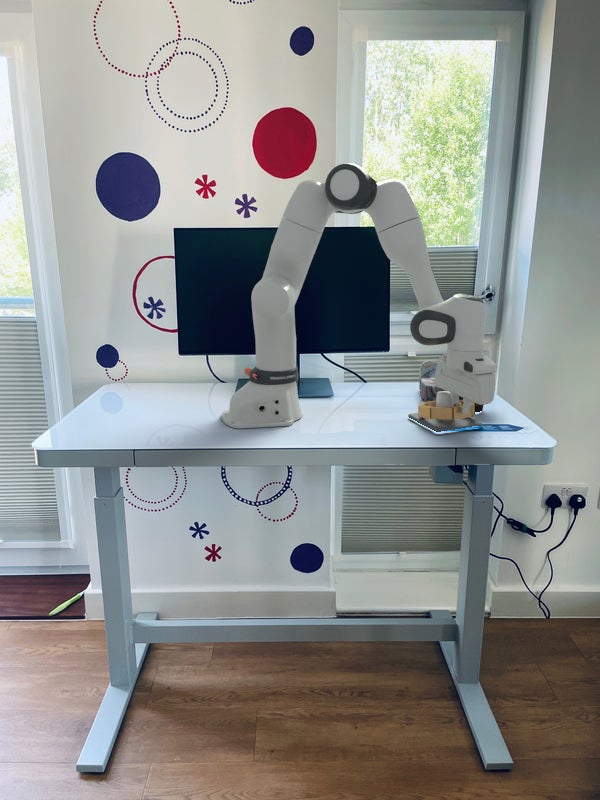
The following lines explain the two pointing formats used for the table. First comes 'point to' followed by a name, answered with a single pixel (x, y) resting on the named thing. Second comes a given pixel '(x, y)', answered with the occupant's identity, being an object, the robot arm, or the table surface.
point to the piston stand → (444, 424)
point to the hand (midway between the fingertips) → (460, 411)
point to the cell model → (428, 381)
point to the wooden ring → (443, 411)
